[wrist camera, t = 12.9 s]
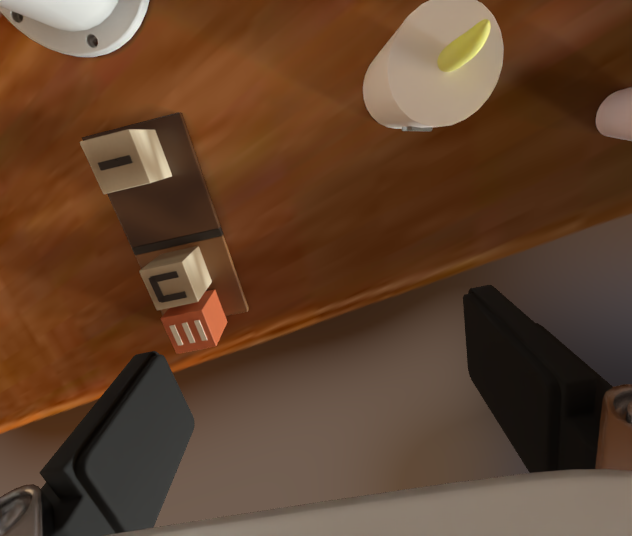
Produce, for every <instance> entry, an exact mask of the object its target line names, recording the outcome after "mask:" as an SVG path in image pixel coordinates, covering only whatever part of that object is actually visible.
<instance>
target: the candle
mask: <svg viewBox="0 0 632 536" xmlns="http://www.w3.org/2000/svg"><path fill="white" fill-rule="evenodd" d="M503 49H504V47H503V41H502V35H501V30H500V28H499V26H498V24H497V22H496V20H495V17H494V15H493V14H492V13H491V12H490V11H489V10H488V9H487V8H486V7H485V6H484V5H483V4H482V3H480V2H478V1H477V0H429V1H427V2H425V3H423V4H422V5H420V6H419V7H418V8H417V9H416V10H415V11H413V12H412V13H411V14H410V15H409V16H408V17H407V18H406V20H405V21H404V22H403V23H402V25H401V26H400V27H399V28H398V30H397V31H396V32H395V33H394V35H393V36H392V37H391V38H390V40H389V41H388V42H387V43H386V45H385V46H384V47H383V48H382V50H381V51H380V52H379V53H378V55H377V56H376V57H375V58H374V60H373V61H372V63H371V64H370V65H369V67H368V70H367V72H366V75H365V77H364V83H363V98H364V102H365V105H366V108H367V110H368V111H369V113H370V115H371V116H372V117H373V118H374V119H375V120H376V121H377V122H378V123H379V124H382V125H384V126H386V127H389V128H396V129H401V128H402V131H432V127H441V126H448V125H453V124H455V123H458V122H460V121H462V120H465V119H466V118H468V117H469V116H470V115H472V114H473V113H474V112H476V111H477V110H478V109H479V108H480V107H481V106H482V105H483V104H484V102H485V101H486V100H487V99H488V98H489V96H490V95H491V93H492V91H493V89H494V87H495V85H496V84H497V82H498V78H499V75H500V72H501V68H502V65H503Z"/></svg>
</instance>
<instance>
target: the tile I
mask: <svg viewBox="0 0 632 536" xmlns="http://www.w3.org/2000/svg"><path fill="white" fill-rule="evenodd" d="M80 144H81V146H82V148H83V151H84V153H85V155H86V157H87V159H88V162H89V164H90V166H91V168H92V170H93V172H94V175H95V177H96V179H97V181H98V183H99V186H100V188H101V190H102V192H103V194H108V193H112V192H116V191H120V190H124V189H128V188H132V187H136V186H141V185H145V184H149V183H152V182H156V181H159V180H162V179H165V178H168V177H172V173H171V171H170V168H169V165H168V163H167V160H166V157H165V155H164V152H163V149H162V147H161V144H160V142H159V139H158V136H157V134H156V131H155V130H154V129H127V130H123V131H119V132H115V133H112V134H108V135H104V136H100V137H96V138H92V139H88V140H84V141H81V142H80Z"/></svg>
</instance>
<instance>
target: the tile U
mask: <svg viewBox="0 0 632 536" xmlns="http://www.w3.org/2000/svg"><path fill="white" fill-rule="evenodd" d="M139 272H140V274H141V277H142V279H143V281H144V283H145V285H146V288H147V290H148V292H149V294H150V296H151V298H152V301H153V303H154V305H155V307H156V309H157V310H162V309H166V308H171V307H176V306H181V305H186V304H190V303H195V302H198V301H199V300H200V299H201V297H202V296H203V294H204V293H205V291H206V290H207V288H208V287H209V286H210V284H211V283H212V280H211V278H210V275H209V272H208V270H207V267H206V264H205V262H204V259H203V256H202V254H201V251H200V248H199V246H195V247H190V248H186V249H181V250H177V251H172V252H168V253H163V254H160V255H159V256H158V257H156V258H155V259H154V260H153V261H151V262H150V263H149V264H147V265H146V266H145V267H144V268H142V269H141V270H140V271H139Z"/></svg>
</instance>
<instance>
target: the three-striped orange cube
mask: <svg viewBox="0 0 632 536" xmlns="http://www.w3.org/2000/svg"><path fill="white" fill-rule="evenodd" d="M161 321H162V323H163V325H164V327H165V329H166V332H167V334H168V336H169V338H170V340H171V342H172V345H173V347H174V349H175V351H176V353H177V354H178V353H183V352H189V351H194V350H199V349H204V348H209V347H214V346H216V345H217V343H218V341H219V339H220V337H221V335H222V332H223V330H224V328H225V326H226V324H227V320H226V317H225V314H224V312H223V309H222V306H221V304H220V301H219V298H218V296H217V293H216V290H215V289H214V290H209V291H205V293H204V294H203V296H202V297H201V299H200V300H199V301H198V302H195V303H190V304H186V305H181V306H176V307H171V308H169V309H168V310H167V311H166V313H165V314H164V315H163V316H162V317H161Z"/></svg>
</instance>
